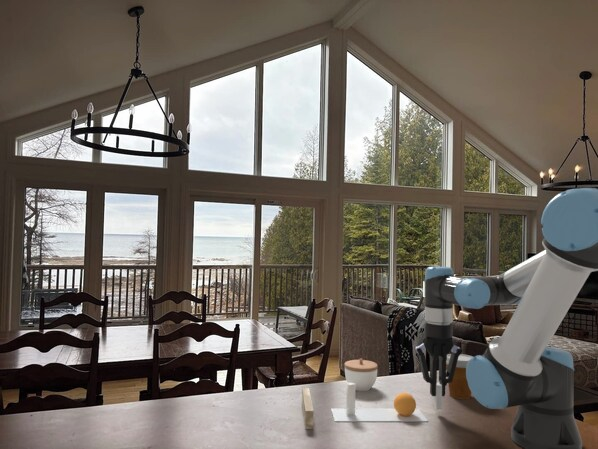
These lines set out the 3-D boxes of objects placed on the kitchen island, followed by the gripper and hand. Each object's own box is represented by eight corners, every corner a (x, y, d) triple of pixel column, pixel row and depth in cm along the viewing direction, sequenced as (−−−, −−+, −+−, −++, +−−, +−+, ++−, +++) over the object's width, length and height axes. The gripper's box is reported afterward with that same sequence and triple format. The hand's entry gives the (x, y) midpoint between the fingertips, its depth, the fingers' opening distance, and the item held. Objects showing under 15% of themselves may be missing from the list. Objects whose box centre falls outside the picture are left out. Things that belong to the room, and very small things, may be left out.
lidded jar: (376, 394, 145) (377, 364, 145) (342, 391, 147) (342, 362, 148) (377, 384, 156) (378, 355, 156) (345, 381, 158) (346, 353, 158)
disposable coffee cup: (444, 399, 142) (444, 359, 142) (444, 389, 151) (444, 352, 151) (477, 402, 139) (477, 362, 140) (475, 392, 148) (475, 354, 149)
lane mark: (417, 409, 133) (417, 408, 133) (427, 421, 124) (427, 420, 124) (330, 409, 132) (331, 408, 132) (334, 421, 123) (334, 420, 123)
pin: (356, 414, 128) (357, 383, 128) (352, 417, 126) (352, 385, 126) (349, 412, 130) (349, 382, 130) (344, 415, 128) (345, 384, 128)
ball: (419, 414, 129) (419, 392, 129) (410, 421, 124) (410, 398, 124) (399, 409, 133) (399, 388, 133) (390, 415, 128) (390, 393, 128)
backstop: (308, 403, 136) (308, 387, 136) (313, 428, 118) (313, 410, 119) (301, 403, 136) (302, 387, 136) (305, 428, 118) (305, 410, 118)
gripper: (456, 320, 134) (455, 402, 133) (411, 319, 133) (410, 402, 133) (466, 325, 126) (465, 412, 126) (419, 324, 126) (418, 412, 125)
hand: (437, 407), depth 129 cm, fingers closed
